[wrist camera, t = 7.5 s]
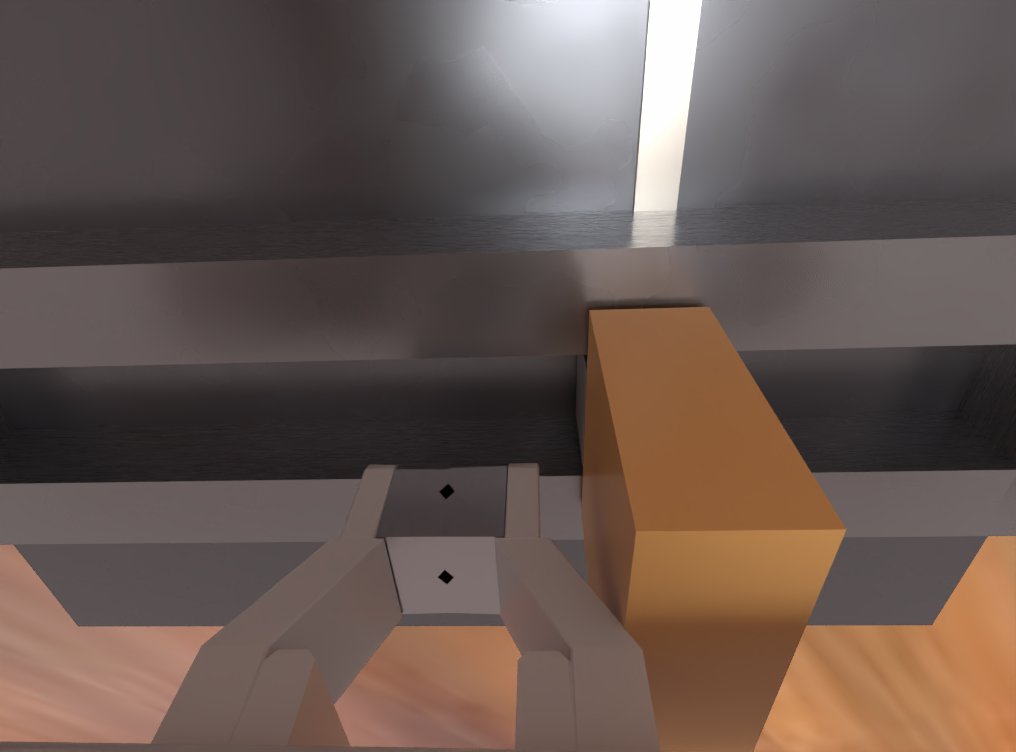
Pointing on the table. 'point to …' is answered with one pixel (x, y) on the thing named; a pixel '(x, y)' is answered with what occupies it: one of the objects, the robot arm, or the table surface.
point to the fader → (697, 521)
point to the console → (488, 268)
